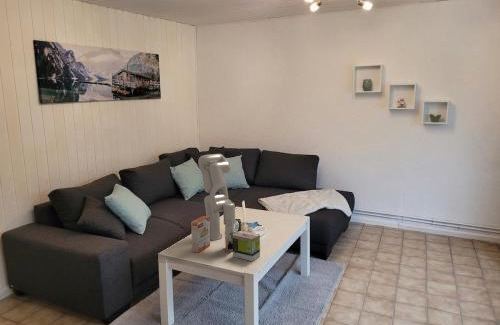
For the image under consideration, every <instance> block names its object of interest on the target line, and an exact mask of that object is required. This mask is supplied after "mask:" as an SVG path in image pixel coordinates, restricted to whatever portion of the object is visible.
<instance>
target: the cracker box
mask: <svg viewBox="0 0 500 325" xmlns="http://www.w3.org/2000/svg"><path fill="white" fill-rule="evenodd" d="M190 226H191V228H190V229H191V252H192V253H197V254H200V253H201V252H202V251H205V250H206V249H207V248H208V247H210V246H211V240H210V217H207V216H206V215H201V216H200V217H198V218H196V219H194V220H193V221H191V222H190Z"/></svg>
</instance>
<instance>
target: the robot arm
mask: <svg viewBox="0 0 500 325" xmlns="http://www.w3.org/2000/svg"><path fill="white" fill-rule="evenodd" d="M197 164H198V167H199V168H198V169H199V170H200V173H201V175H202V181H203V188H204V192H206V193H208V195H206V196H205V197H204V198H203V199H204V200H203V201H204V207H205V216H207V217H210V241H218V240H221V239H222V238H223V234H222V233H221V226H220V225H221V220H220V212H223V225H225V226H224V227H225V228H224V229H225V230H224V234H225V235H224V238H225V237H226V240H227V239H228V238H229V239H228V250H230V249H233V244H232V235H234V225H235V224H236V205H235V203H234V202H232V200H231V199H229V192H228V186H227V183H226V179H225V175H224V174H229V173H230V172H231V165H230V163H229V161H228V160H227V158H226V157H225V156H224V155H223V154H222V153H213V154H211V153H210V154H209V153H208V154H204V155H201V156H200V157H199V158H198V163H197ZM218 192H219V193H218Z"/></svg>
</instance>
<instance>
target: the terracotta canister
mask: <svg viewBox="0 0 500 325" xmlns="http://www.w3.org/2000/svg"><path fill="white" fill-rule="evenodd" d="M224 239H225V240H224V241H225V243H224V245H225V246H224V247H225V251H226V253H227V252H229V253H233V249H230V250H228V239H229V238H228V239H227V240H226V237H225V236H224ZM232 244H233V243H232Z"/></svg>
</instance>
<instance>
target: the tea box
mask: <svg viewBox="0 0 500 325" xmlns="http://www.w3.org/2000/svg"><path fill="white" fill-rule="evenodd" d="M260 238H261V235H260V234H259V233H254V232H249V231H244V230H239V231H238V232H236V233H233V235H232V243H233V251H232V257H234V258H238V259H242V260H246V261H249V262H253V261H255V260H257V259H258V258H259V257H260V256H261V239H260Z"/></svg>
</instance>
